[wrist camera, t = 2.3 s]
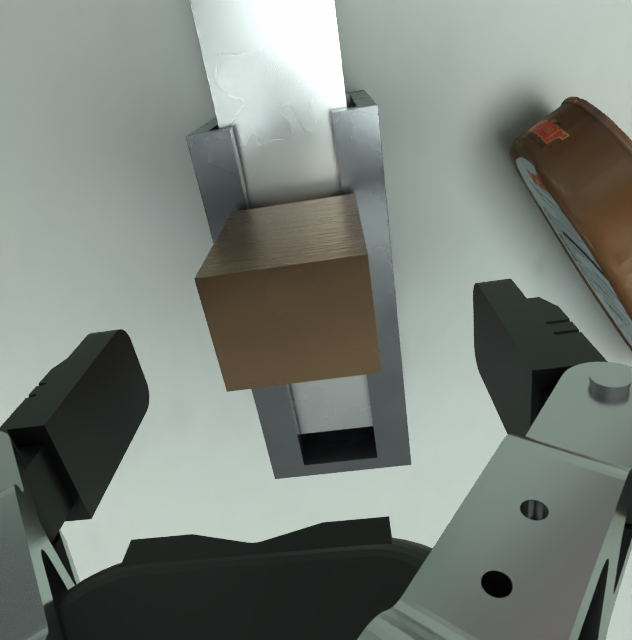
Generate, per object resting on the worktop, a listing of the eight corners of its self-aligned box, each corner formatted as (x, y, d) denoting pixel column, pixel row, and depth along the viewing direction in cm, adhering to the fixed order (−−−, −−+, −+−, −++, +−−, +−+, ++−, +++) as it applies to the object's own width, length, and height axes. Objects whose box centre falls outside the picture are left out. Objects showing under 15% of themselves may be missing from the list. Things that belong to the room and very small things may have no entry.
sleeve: (284, 397, 28) (275, 479, 23) (220, 114, 21) (185, 136, 16) (394, 384, 28) (411, 464, 22) (363, 90, 21) (377, 105, 16)
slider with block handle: (294, 381, 27) (277, 576, 17) (206, -37, 18) (70, -132, 8) (376, 371, 26) (407, 565, 16) (324, -60, 18) (322, -186, 8)
